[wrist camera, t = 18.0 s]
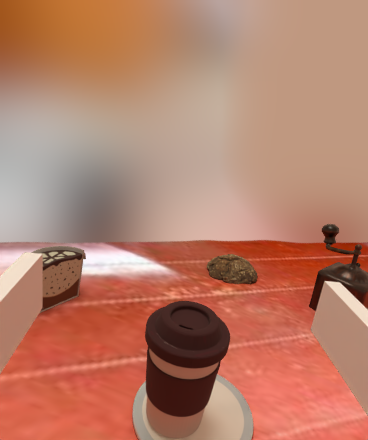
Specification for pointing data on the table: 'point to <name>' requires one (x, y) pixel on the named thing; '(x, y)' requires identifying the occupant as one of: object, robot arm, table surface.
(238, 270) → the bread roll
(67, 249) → the food container
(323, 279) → the manual coffee grinder
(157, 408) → the coffee cup
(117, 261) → the table surface
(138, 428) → the saucer
